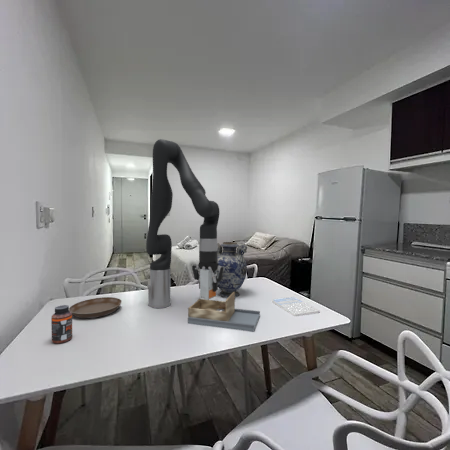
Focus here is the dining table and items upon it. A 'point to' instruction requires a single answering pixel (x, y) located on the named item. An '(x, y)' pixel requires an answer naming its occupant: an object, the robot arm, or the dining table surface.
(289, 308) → the white flat textured slab
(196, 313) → the wooden drawer
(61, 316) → the supplement bottle
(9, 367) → the dining table surface
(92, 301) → the plant saucer
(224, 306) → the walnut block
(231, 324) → the rail board
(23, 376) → the dining table surface
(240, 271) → the decorative vase
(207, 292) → the skincare box
